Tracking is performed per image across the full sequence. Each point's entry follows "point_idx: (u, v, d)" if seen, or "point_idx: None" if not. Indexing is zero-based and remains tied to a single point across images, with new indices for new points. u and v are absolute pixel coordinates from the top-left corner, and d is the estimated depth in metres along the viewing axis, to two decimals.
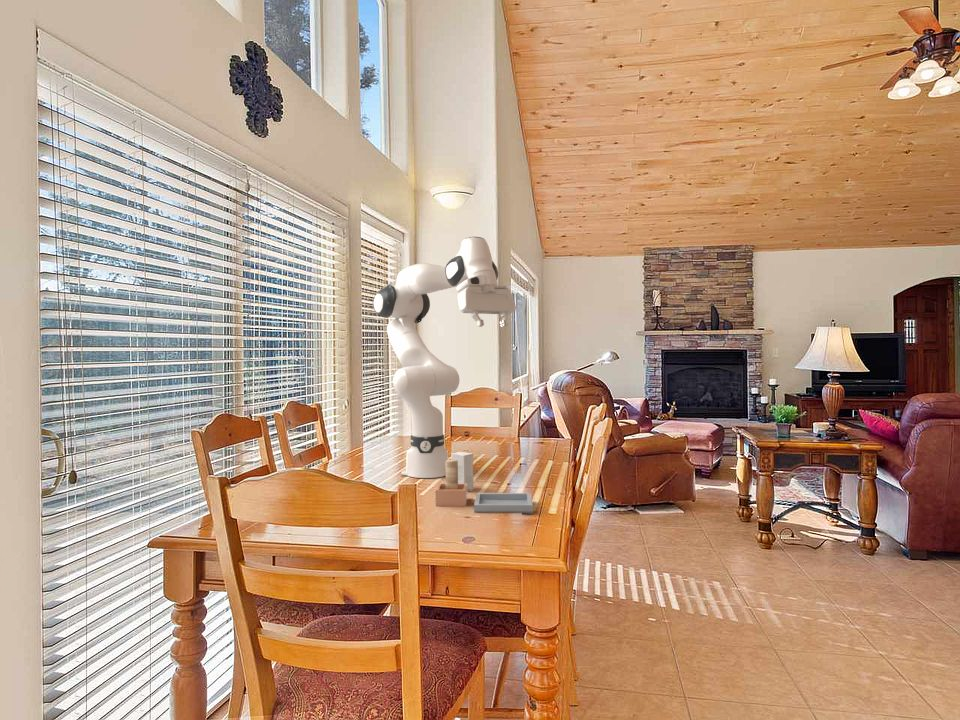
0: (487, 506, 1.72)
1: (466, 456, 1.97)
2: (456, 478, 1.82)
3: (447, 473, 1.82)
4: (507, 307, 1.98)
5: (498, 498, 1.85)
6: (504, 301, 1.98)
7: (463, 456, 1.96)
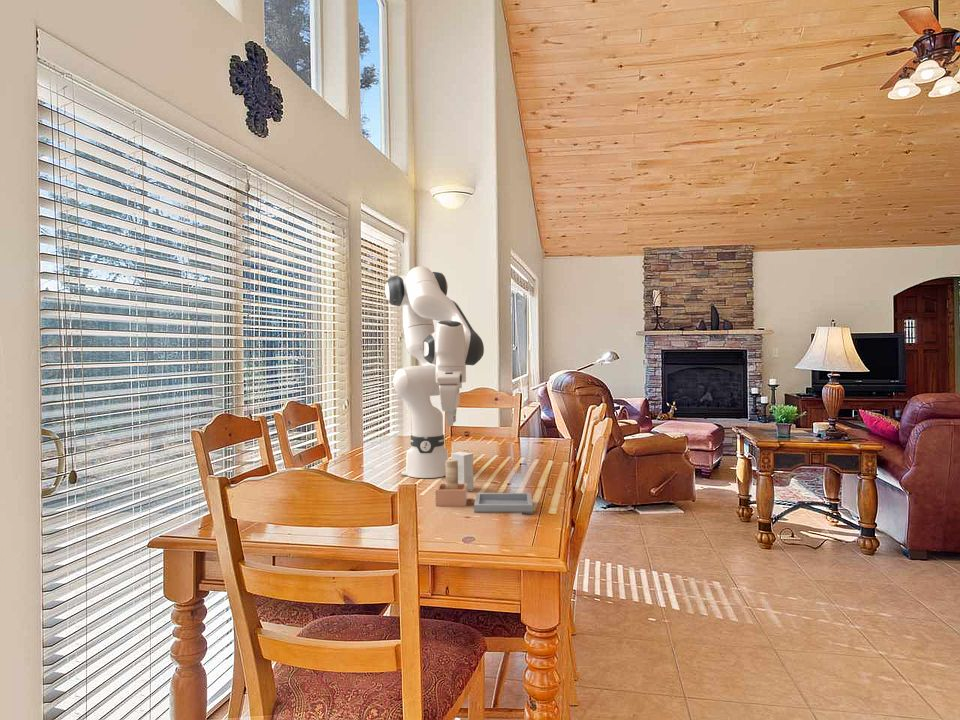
0: (487, 506, 1.72)
1: (466, 456, 1.97)
2: (456, 478, 1.82)
3: (447, 473, 1.82)
4: None
5: (498, 498, 1.85)
6: (458, 396, 1.88)
7: (463, 456, 1.96)
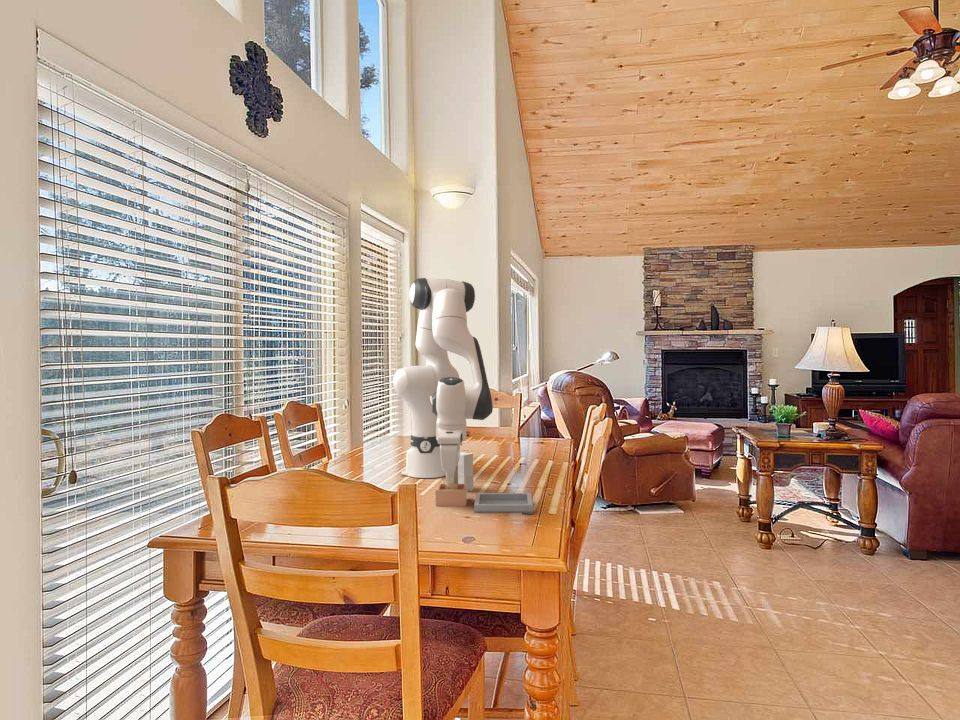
0: (487, 506, 1.72)
1: (466, 456, 1.97)
2: (456, 478, 1.82)
3: None
4: (459, 458, 1.89)
5: (498, 498, 1.85)
6: None
7: (463, 456, 1.96)
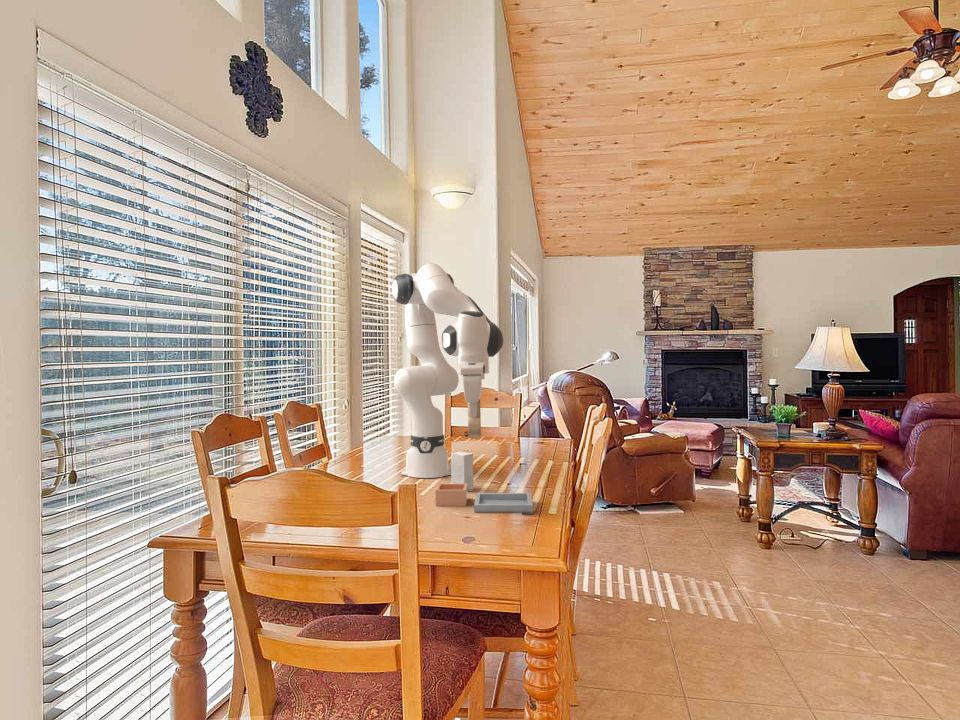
0: (487, 506, 1.72)
1: (466, 456, 1.97)
2: (479, 412, 1.79)
3: (469, 407, 1.79)
4: None
5: (498, 498, 1.85)
6: None
7: (463, 456, 1.96)
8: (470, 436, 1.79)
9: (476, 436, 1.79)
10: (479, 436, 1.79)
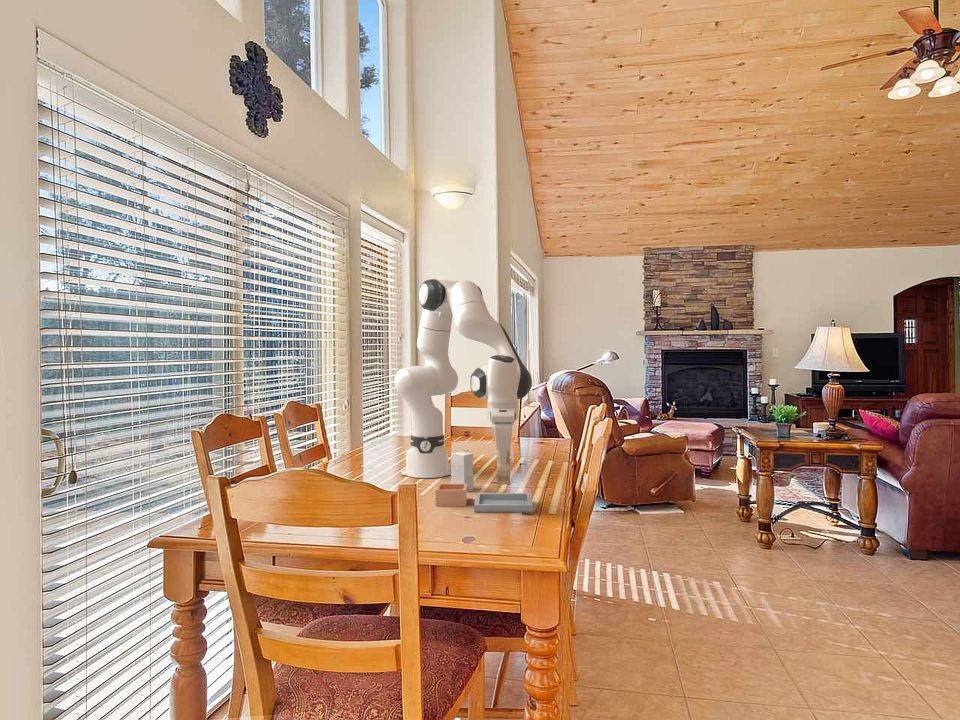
0: (487, 506, 1.72)
1: (466, 456, 1.97)
2: (508, 458, 1.78)
3: (499, 453, 1.77)
4: None
5: (498, 498, 1.85)
6: None
7: (463, 456, 1.96)
8: (499, 482, 1.78)
9: (505, 482, 1.77)
10: (508, 482, 1.78)
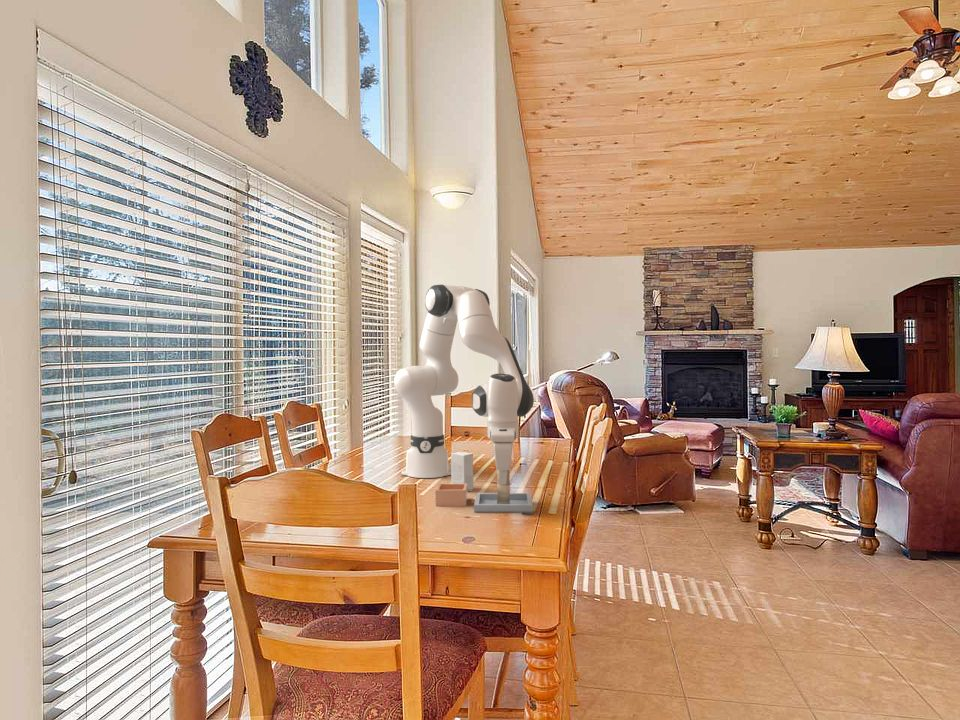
0: (487, 506, 1.72)
1: (466, 456, 1.97)
2: (508, 480, 1.78)
3: (499, 475, 1.78)
4: None
5: None
6: None
7: (463, 456, 1.96)
8: None
9: (505, 503, 1.77)
10: (508, 503, 1.78)
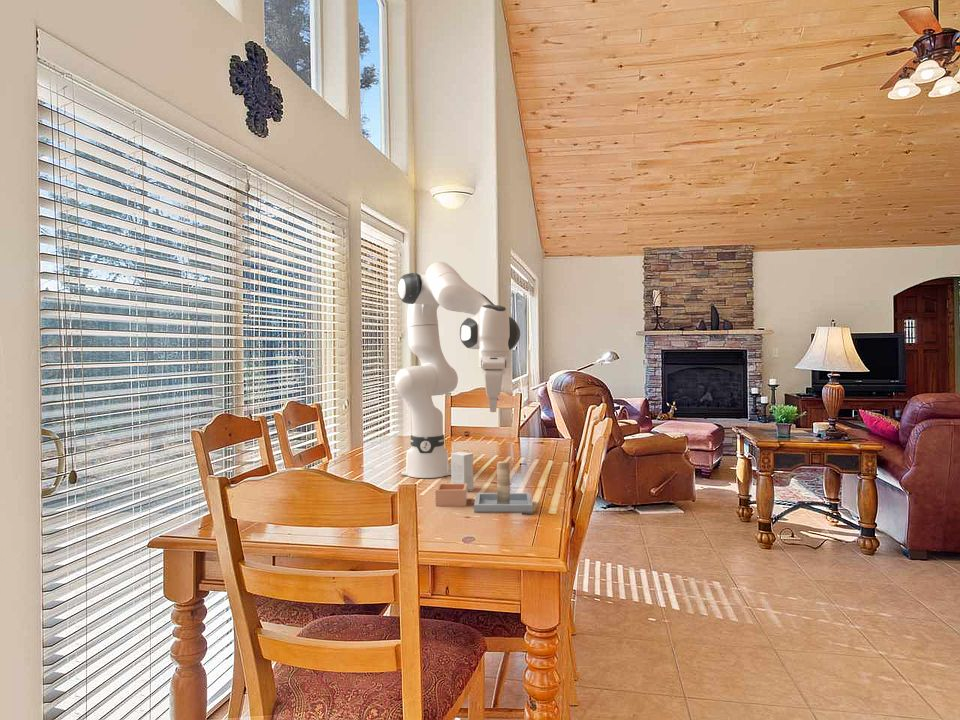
0: (487, 506, 1.72)
1: (466, 456, 1.97)
2: (508, 480, 1.78)
3: (499, 475, 1.78)
4: None
5: None
6: None
7: (463, 456, 1.96)
8: None
9: None
10: None
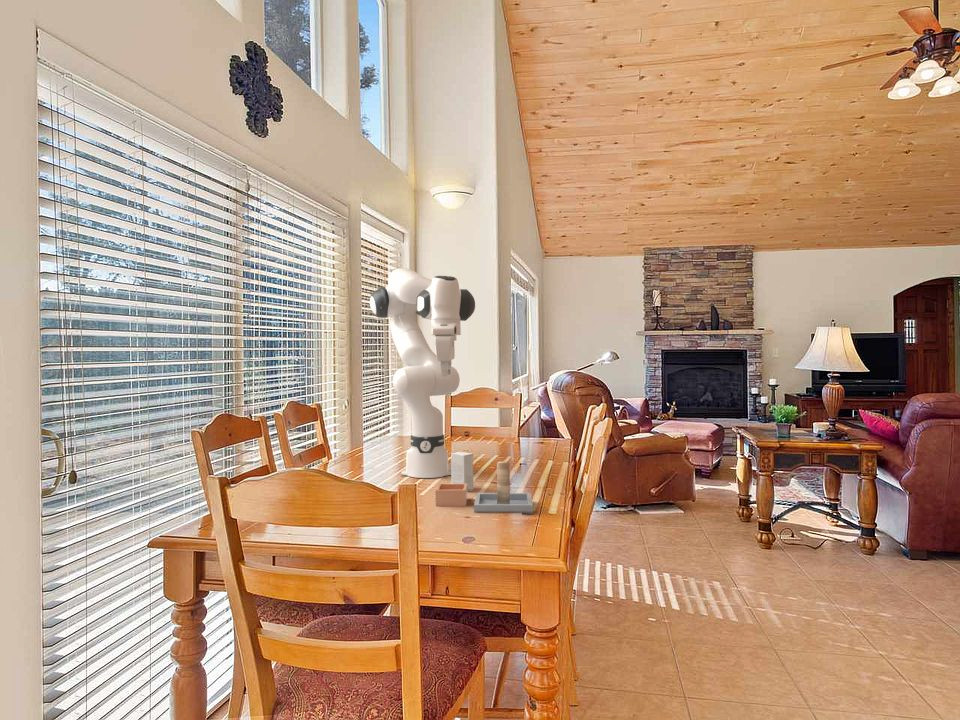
0: (487, 506, 1.72)
1: (466, 456, 1.97)
2: (508, 480, 1.78)
3: (499, 475, 1.78)
4: (453, 356, 1.95)
5: None
6: (453, 349, 1.95)
7: (463, 456, 1.96)
8: None
9: None
10: None
